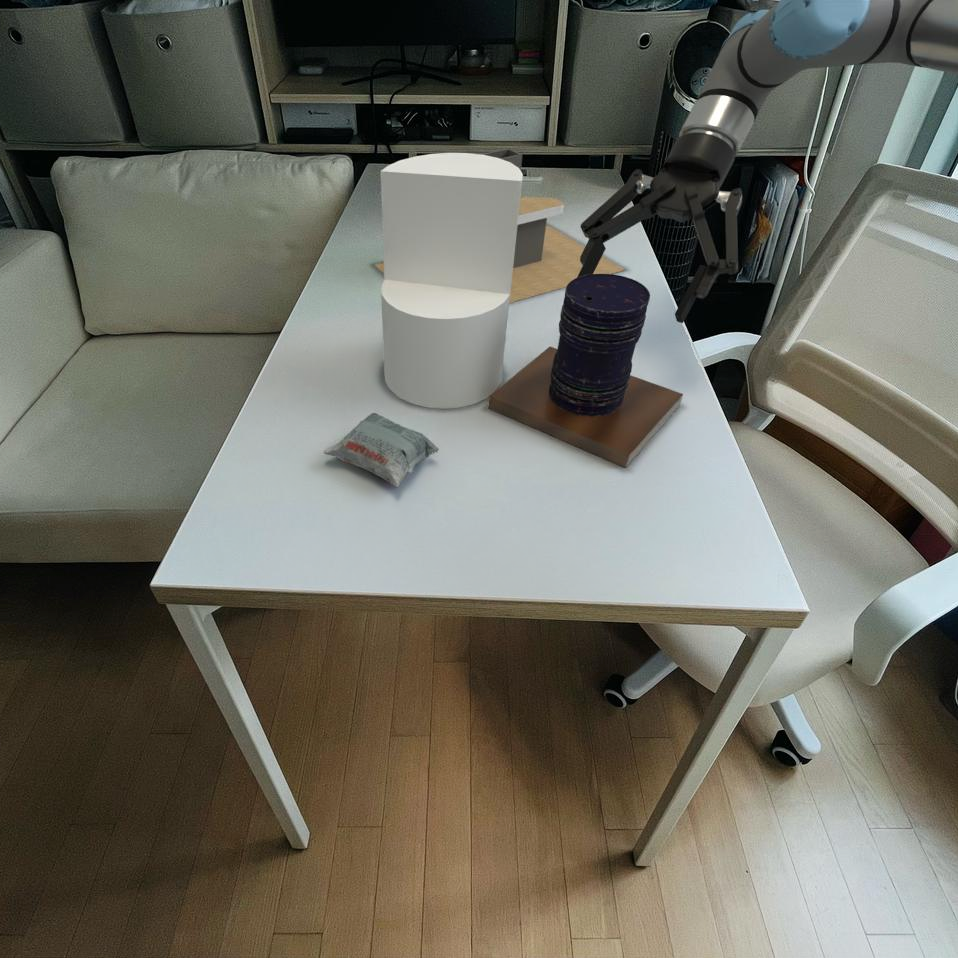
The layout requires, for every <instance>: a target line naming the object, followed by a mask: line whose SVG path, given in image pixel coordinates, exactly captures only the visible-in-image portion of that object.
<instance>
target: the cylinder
mask: <svg viewBox="0 0 958 958" xmlns="http://www.w3.org/2000/svg"><path fill="white" fill-rule="evenodd" d="M480 154H481V153H469V152H442V153H439V152H438V153H429V154H422V155H417V156H412V157H408V158H404V159H400V160H397V161H395V162H393V163H391V164H388V165H387V166H386V167H384V168H383V169H381V170H380V192H381V195H380V196H381V197H380V198H381V199H380V200H381V222H382V250H383V251H382V252H383V253H382V254H383V255H382V256H383V262H384V273H383V282H382V284H381V285H380V296H381V297H380V299H381V322H382V325H381V326H382V347H383V348H382V349H383V373H384V374H383V375H384V382H385V384H386V386H387V387H388V389H389V391H391V392H392V393H393V394H394V395H395V396H396V397H398V398H399V399H401V400H403V401H405V402H407V403H410V404H411V405H415V406H420V407H422V408H423V407H424V408H428V409H439V410H440V409H441V410H445V409H446V410H447V409H460V408H464V407H467V406H472V405H475V404H477V403H479V402H482V401H484V400H486V399H489V396H491V395H492V394H493V393H494V392H495V391H497V390H498V389H499V386H500V385H501V383H502V377H503V369H504V368H503V367H504V357H505V347H506V341H507V340H506V338H507V330H508V329H507V328H508V321H509V311H510V303H509V302H510V292H511V283H512V273H513V264H514V254H515V244H516V235H517V225H518V216H519V206H520V197H522V196H521V195H522V187H523V176H524V174H523V172H522V170H521V171H520V169H519V168H518V167H517V166H515V165H513V164H512V163H510V162H508V161H505V160H502V159H500V158H496V157H491V156H486V155H480Z"/></svg>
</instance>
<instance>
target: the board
mask: <svg viewBox="0 0 958 958" xmlns="http://www.w3.org/2000/svg"><path fill="white" fill-rule="evenodd" d="M557 350H558V348H556V347H553V346H548V347H547V348H546V349H545V350H544V351H542V352H541V353H540V354H539V355H538V356H537V357H535V358H534V359H533V360H531V361H530V362H529V363H528V364H527V365H526V366H524V367H523V368H522V369H520V370H519V371H518V372H517V373H516V374H514V375H513V376H512V377H511V378H510V379H508V380H507V381H506V382H505V383H503V385H501V386H500V387H498V388H497V390H496V391H495V392H494V393H493V394H491V395H490V396H489V397H488V407H487V408H488V409H490V410H492V411H494V412H496V413H498V414H501V415H503V416H505V417H509V418H510V419H512V420H515V421H517V422H519V423H522V424H524V425H526V426H528V427H531V428H533V429H536V430H538V431H540V432H542V433H545V434H547V435H549V436H552V437H554V438H556V439H559V440H561V441H563V442H566V443H568V444H570V445H572V446H575V447H577V448H579V449H581V450H584V451H586V452H588V453H591V454H593V455H595V456H597V457H599V458H602V459H605V460H607V461H609V462H611V463H614V464H616V465H618V466H621V467H623V468H625V469H626V468H627V467H628V466H629V465H630V464H631V463H632V461H633V460H634V459H635V458H636V457H637V455H639V453H640V452H641V451H642V450H643V448H644V447H645V446H646V445H647V444H648V443H649V442H650V440H651V439H652V438H653V437H654V436H655V435H656V434H657V433H658V431H659V430H660V429H661V428H662V427H663V425H664V424H665V423H666V422H667V421H668V420H669V419H670V418H671V416H672V415H673V414H674V413H675V412H676V411H677V410H678V409H679V407H680V405H681V402H682V400H683V397H684V393H682V392H679V391H676V390H673V389H670V388H668V387H666V386H661V385H659V384H658V383H657V384H656V383H654V382H650V381H649V380H645V379H643V378H640V377H636V376H634V375H632V374H630V380H629V384H628V387H627V389H626V392H625V394H624V399H623V403H622V405H621V406H620V408H619V409H617V410H616V411H614V412H613V413H610V414H608V415H604V416H597V417H588V416H580V415H575V414H572V413H569V412H567V411H564V410H562V409H561V408H559V407H558V406H557V405H555V404H554V403H553V401H552V400H551V398H550V396H549V387H550V384H551V370H552V365H553V360H554V356H555V354H556V352H557Z"/></svg>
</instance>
